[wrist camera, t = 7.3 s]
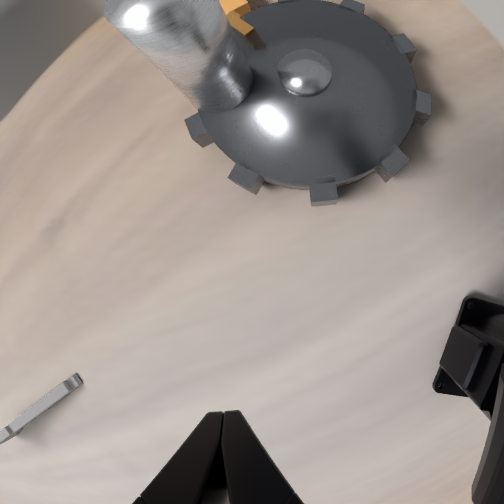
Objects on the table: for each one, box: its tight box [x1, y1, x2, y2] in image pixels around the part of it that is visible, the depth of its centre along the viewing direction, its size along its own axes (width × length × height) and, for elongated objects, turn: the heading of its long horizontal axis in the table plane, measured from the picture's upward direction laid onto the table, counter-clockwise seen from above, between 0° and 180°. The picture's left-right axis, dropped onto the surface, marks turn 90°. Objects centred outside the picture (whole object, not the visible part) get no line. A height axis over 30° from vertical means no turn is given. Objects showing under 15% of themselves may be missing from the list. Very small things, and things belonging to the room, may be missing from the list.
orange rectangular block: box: [219, 0, 251, 16], centre depth 18 cm, size 3×2×2 cm, turn 30°
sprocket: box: [104, 0, 432, 206], centre depth 12 cm, size 15×14×11 cm
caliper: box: [0, 374, 82, 444], centre depth 21 cm, size 20×1×6 cm, turn 128°
